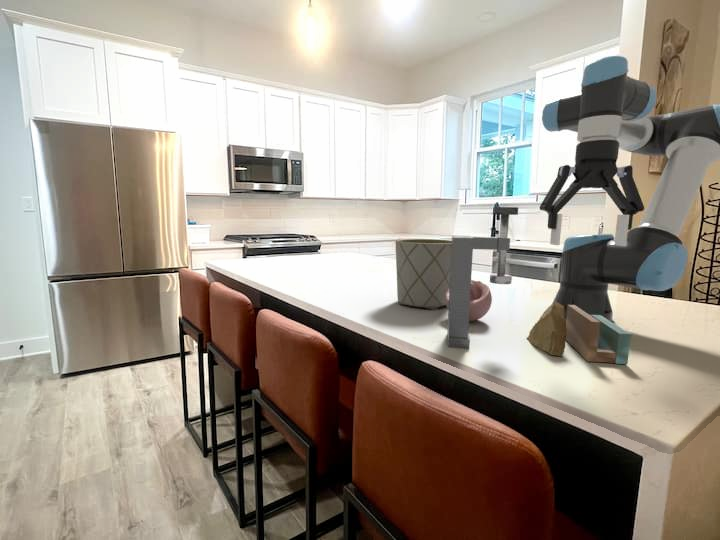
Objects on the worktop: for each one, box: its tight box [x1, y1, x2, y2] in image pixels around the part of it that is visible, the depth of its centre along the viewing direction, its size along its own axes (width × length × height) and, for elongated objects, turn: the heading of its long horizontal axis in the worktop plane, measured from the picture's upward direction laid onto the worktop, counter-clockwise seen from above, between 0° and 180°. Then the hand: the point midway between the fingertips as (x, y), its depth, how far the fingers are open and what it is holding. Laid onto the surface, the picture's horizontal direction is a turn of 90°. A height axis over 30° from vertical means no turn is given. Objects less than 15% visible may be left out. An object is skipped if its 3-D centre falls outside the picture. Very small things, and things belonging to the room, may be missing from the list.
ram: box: [489, 206, 519, 285], centre depth 81 cm, size 5×5×16 cm
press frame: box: [446, 235, 511, 349], centre depth 84 cm, size 12×9×24 cm
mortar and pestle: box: [445, 279, 493, 322], centre depth 102 cm, size 12×12×11 cm
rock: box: [526, 300, 567, 357], centre depth 82 cm, size 11×9×10 cm
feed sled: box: [565, 305, 632, 365], centre depth 80 cm, size 7×14×8 cm, turn 169°
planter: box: [395, 238, 452, 311], centre depth 120 cm, size 19×19×20 cm
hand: (587, 245), depth 81 cm, fingers open, 13 cm apart
